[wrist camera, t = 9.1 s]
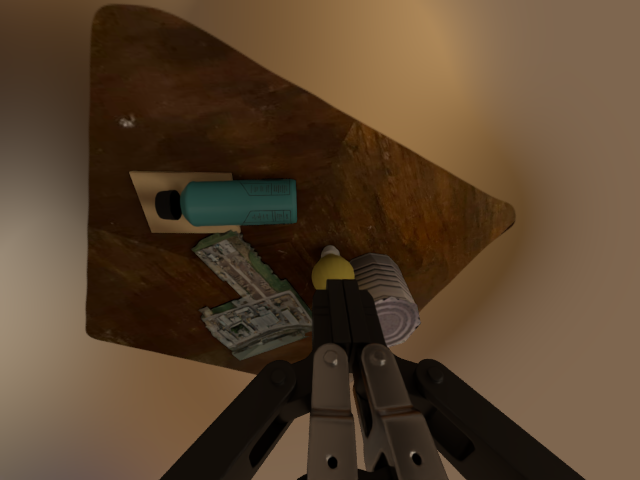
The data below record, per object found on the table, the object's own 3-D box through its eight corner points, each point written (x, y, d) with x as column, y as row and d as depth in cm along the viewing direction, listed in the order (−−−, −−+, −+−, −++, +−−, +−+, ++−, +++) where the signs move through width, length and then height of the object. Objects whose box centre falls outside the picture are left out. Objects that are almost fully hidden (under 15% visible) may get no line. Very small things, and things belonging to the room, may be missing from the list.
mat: (131, 170, 37) (128, 172, 37) (231, 172, 38) (230, 174, 38) (153, 230, 43) (151, 232, 42) (240, 231, 44) (240, 233, 43)
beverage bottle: (306, 171, 35) (147, 172, 33) (308, 220, 34) (145, 224, 32) (305, 186, 41) (171, 188, 40) (306, 228, 41) (170, 232, 39)
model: (240, 221, 42) (238, 226, 41) (322, 325, 58) (322, 331, 57) (139, 270, 47) (134, 276, 45) (241, 353, 63) (240, 360, 61)
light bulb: (356, 251, 47) (366, 292, 39) (327, 271, 50) (331, 313, 41) (332, 228, 44) (338, 266, 36) (303, 249, 46) (302, 290, 38)
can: (330, 265, 49) (337, 317, 39) (390, 243, 47) (413, 292, 37) (352, 303, 55) (362, 357, 45) (405, 285, 53) (428, 338, 43)
